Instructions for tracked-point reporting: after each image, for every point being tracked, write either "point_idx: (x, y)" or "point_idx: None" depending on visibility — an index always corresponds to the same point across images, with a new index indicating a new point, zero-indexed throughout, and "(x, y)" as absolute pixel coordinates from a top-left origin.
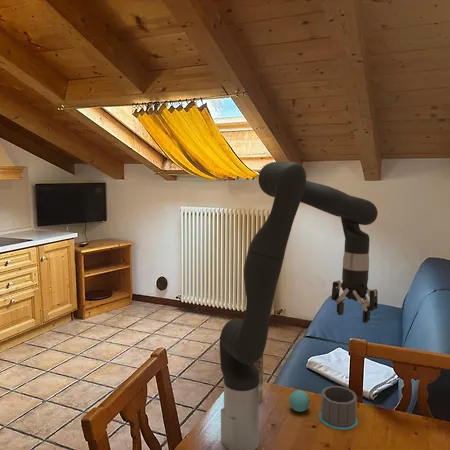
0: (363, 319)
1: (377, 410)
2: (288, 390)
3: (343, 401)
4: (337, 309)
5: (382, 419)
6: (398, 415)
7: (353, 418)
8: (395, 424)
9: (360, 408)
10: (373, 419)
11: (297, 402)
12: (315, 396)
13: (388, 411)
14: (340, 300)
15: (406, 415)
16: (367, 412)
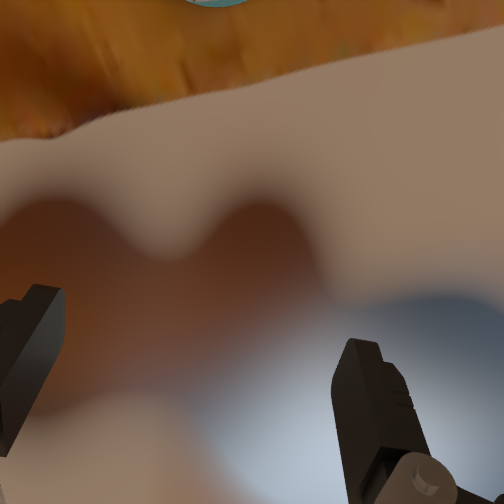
0: (36, 305)
1: (112, 87)
2: (495, 5)
3: None
4: (398, 394)
5: (68, 31)
6: (37, 100)
7: None
8: (14, 27)
9: (170, 59)
10: (94, 7)
11: None
12: (365, 33)
13: (77, 105)
14: (390, 502)
15: (16, 118)
16: (135, 46)
